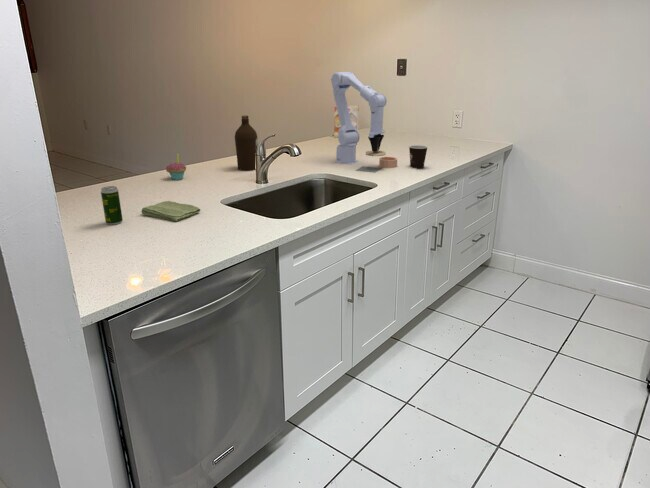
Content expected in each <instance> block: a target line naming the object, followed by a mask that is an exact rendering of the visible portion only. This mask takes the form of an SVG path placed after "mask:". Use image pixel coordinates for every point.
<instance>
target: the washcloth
mask: <svg viewBox="0 0 650 488" xmlns="http://www.w3.org/2000/svg"><path fill="white" fill-rule="evenodd" d="M199 212H201V208H200V207H198V206H196V205H192V204H187V203H180V202H175V201H171V200H165V201H162V202H157V203H156V204H152V205H148V206H145V207H143V208H142V209H141V214H142V215H143V216H146V217H150V218H153V219H154V218H156V219H160V220H167V221H172V222H180V221H181V220H184V219H187V218H189V217H191V216H194V215H195V214H198V213H199Z"/></svg>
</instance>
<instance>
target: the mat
mask: <svg viewBox="0 0 650 488" xmlns="http://www.w3.org/2000/svg"><path fill="white" fill-rule="evenodd" d="M382 169H383V167H373V166H365V165H362V166H361V167H358V168H357V169H355V171H357V172H364V173H365V172H367V173H372V174H373V173H374V174H376V173H377V172H379V171H380V170H382Z"/></svg>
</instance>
